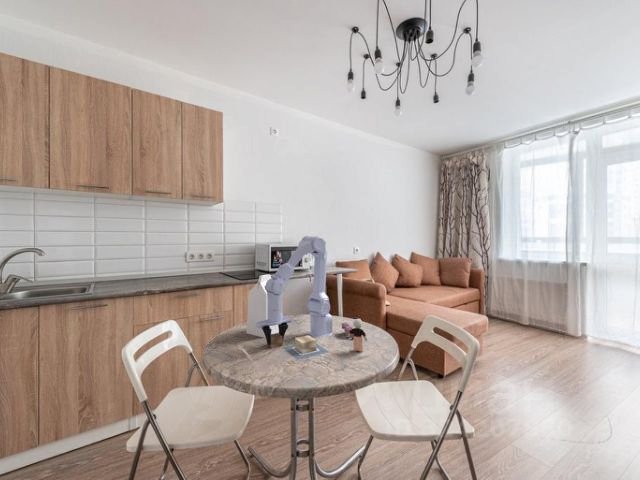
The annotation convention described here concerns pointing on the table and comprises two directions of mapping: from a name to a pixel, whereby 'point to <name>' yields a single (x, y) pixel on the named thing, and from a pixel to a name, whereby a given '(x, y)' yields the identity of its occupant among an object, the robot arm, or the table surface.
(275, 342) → the walnut cube
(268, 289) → the robot arm
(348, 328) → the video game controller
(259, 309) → the milk
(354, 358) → the table surface
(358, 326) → the grandmother figurine
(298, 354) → the board
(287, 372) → the table surface
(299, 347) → the maple block
